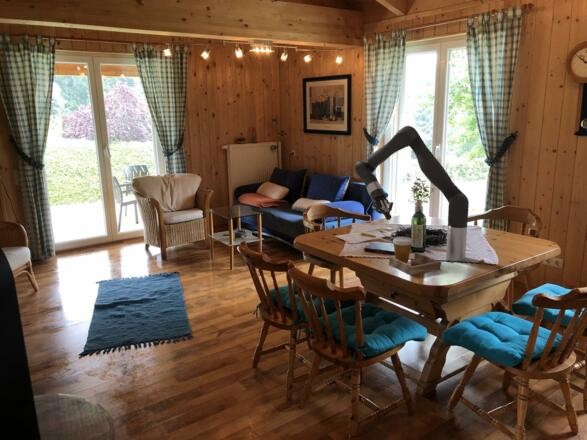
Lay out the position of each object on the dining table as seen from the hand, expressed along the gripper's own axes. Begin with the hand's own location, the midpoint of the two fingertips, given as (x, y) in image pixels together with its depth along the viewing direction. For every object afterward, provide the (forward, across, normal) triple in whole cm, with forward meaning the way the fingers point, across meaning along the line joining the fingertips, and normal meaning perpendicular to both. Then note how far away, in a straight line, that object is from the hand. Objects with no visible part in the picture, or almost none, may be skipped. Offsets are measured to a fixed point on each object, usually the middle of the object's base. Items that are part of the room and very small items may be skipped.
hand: (389, 219), depth 239 cm
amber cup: (+22, 0, +7) cm, 23 cm away
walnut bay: (+29, 0, -1) cm, 29 cm away
